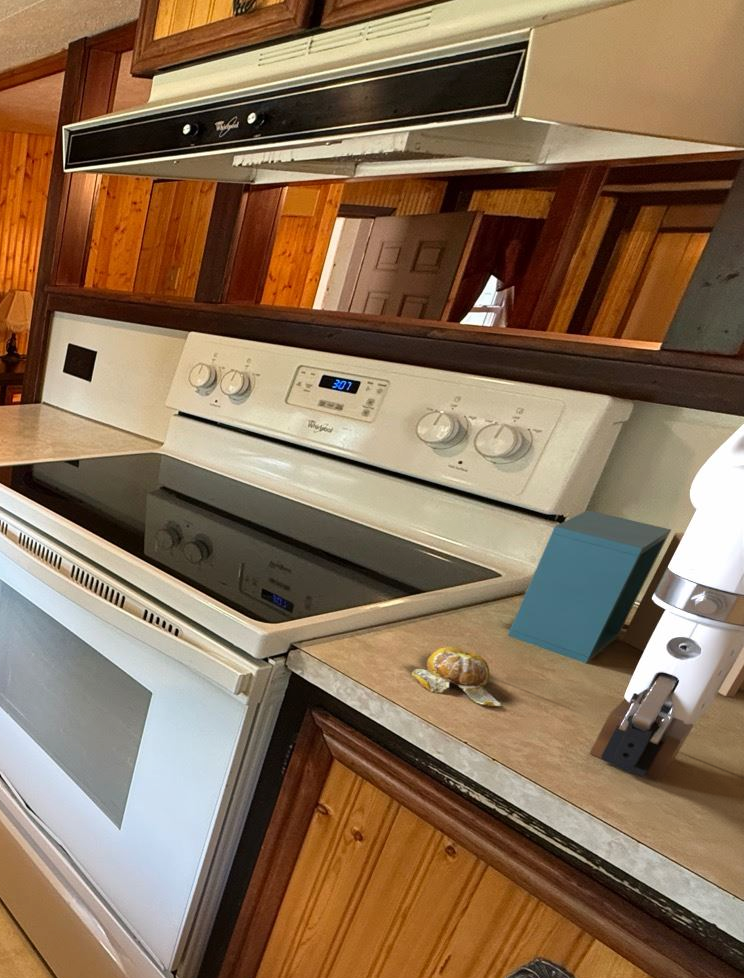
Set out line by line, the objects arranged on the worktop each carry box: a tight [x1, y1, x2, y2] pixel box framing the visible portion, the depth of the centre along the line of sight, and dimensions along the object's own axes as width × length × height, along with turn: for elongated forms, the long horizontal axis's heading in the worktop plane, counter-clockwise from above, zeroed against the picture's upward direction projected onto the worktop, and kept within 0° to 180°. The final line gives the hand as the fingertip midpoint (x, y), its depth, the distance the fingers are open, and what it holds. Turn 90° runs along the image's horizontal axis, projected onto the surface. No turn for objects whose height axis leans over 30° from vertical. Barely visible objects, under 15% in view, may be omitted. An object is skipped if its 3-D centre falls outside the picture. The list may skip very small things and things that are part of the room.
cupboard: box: [507, 509, 672, 664], centre depth 95 cm, size 8×13×16 cm, turn 122°
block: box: [589, 698, 694, 783], centre depth 73 cm, size 5×5×5 cm
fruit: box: [411, 646, 503, 707], centre depth 86 cm, size 8×8×4 cm
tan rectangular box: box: [621, 532, 744, 698], centre depth 88 cm, size 8×13×16 cm, turn 177°
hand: (631, 755), depth 74 cm, fingers closed on block, 5 cm apart
